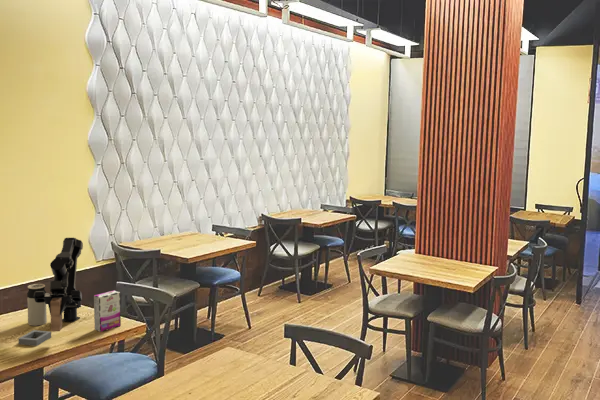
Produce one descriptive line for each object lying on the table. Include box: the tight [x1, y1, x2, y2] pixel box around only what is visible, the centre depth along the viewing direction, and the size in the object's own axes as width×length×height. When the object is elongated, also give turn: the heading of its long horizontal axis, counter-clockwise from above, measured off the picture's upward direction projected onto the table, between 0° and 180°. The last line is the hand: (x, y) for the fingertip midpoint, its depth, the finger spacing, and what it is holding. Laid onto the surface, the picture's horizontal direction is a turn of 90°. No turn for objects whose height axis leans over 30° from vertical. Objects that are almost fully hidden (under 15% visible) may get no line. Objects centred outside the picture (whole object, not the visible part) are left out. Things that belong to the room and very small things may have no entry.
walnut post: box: [50, 298, 63, 333], centre depth 246 cm, size 5×4×13 cm
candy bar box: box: [93, 290, 122, 333], centre depth 267 cm, size 11×5×16 cm, turn 143°
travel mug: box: [26, 283, 48, 327], centre depth 270 cm, size 8×8×18 cm
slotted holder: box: [17, 329, 52, 347], centre depth 250 cm, size 10×8×2 cm
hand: (55, 314), depth 244 cm, fingers closed on walnut post, 3 cm apart
